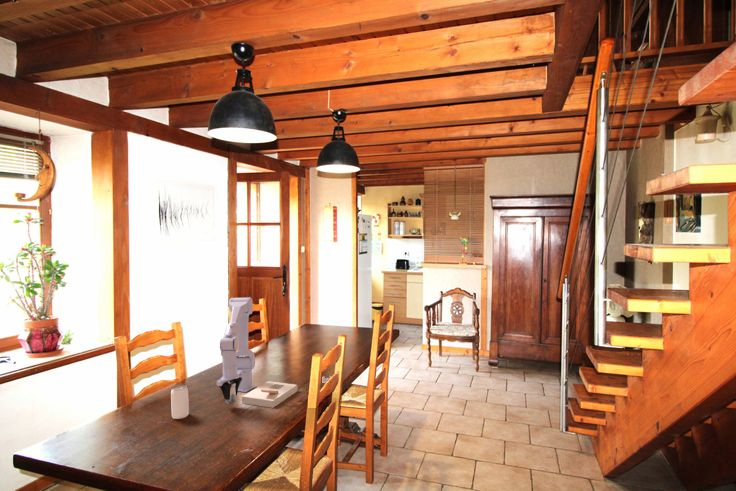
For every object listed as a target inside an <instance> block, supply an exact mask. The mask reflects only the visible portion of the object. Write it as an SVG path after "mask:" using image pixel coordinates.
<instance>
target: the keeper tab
mask: <svg viewBox="0 0 736 491" xmlns="http://www.w3.org/2000/svg"><path fill="white" fill-rule="evenodd" d="M261 392H267V393H278V391H273V390H261Z"/></svg>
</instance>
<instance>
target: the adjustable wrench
mask: <svg viewBox="0 0 736 491" xmlns="http://www.w3.org/2000/svg"><path fill="white" fill-rule="evenodd" d="M331 376H332V375H329V377H327V378H326V377H325V376H321V377H322V383H325V382H326V381H327V380H328V379H329V378H330V377H331Z"/></svg>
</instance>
